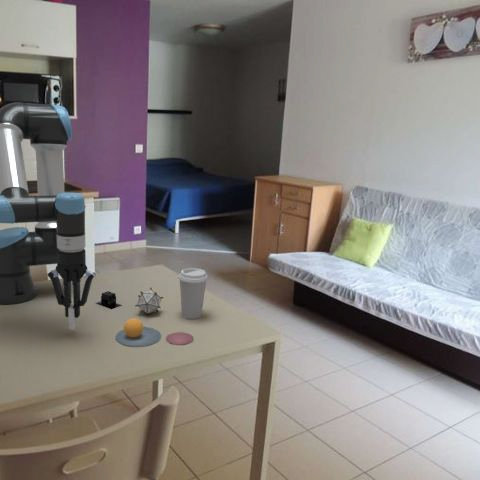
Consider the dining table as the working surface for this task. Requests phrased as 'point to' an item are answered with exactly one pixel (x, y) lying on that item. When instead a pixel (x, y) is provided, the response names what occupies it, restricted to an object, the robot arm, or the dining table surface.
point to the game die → (149, 301)
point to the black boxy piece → (108, 300)
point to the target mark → (139, 338)
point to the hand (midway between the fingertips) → (72, 327)
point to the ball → (133, 328)
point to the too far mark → (179, 338)
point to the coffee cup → (192, 292)
